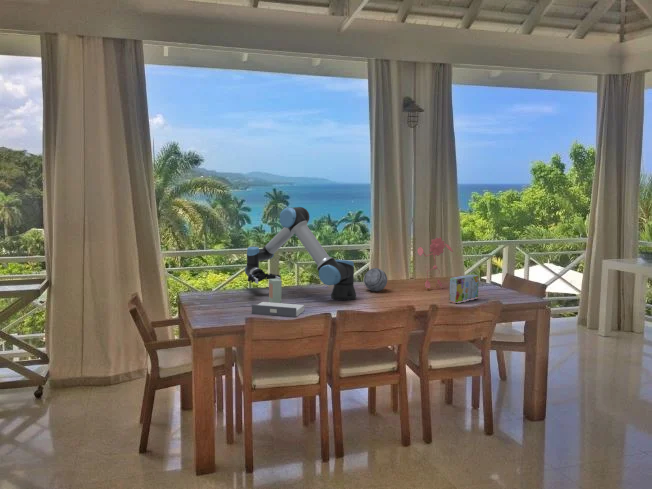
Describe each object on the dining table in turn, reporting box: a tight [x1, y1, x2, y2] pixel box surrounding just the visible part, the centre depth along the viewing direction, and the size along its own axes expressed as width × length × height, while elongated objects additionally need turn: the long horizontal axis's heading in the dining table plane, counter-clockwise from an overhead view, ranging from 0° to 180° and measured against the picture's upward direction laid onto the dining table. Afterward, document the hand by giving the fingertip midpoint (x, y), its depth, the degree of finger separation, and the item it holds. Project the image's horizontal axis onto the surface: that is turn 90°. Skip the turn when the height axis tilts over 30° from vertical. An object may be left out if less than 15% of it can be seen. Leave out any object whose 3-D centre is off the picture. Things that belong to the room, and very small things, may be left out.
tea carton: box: [268, 279, 283, 303], centre depth 296 cm, size 5×7×14 cm
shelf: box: [251, 301, 305, 318], centre depth 278 cm, size 24×16×4 cm, turn 75°
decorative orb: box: [363, 267, 388, 292], centre depth 338 cm, size 15×14×15 cm
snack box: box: [448, 274, 480, 302], centre depth 313 cm, size 21×6×15 cm, turn 128°
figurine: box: [416, 236, 454, 289], centre depth 343 cm, size 15×26×35 cm, turn 115°
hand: (268, 280), depth 304 cm, fingers open, 13 cm apart
